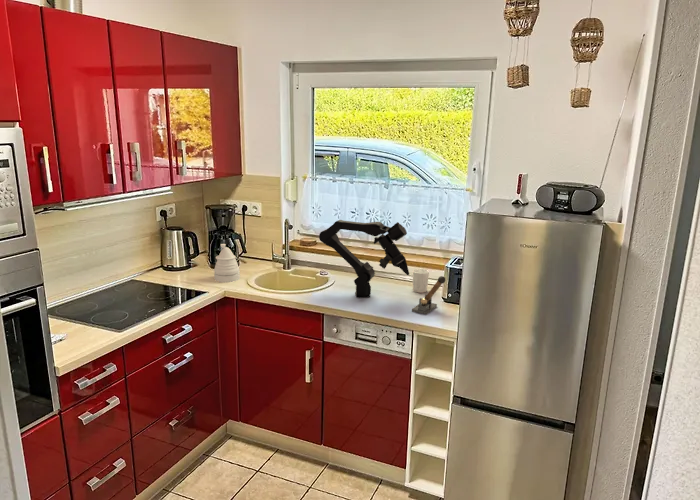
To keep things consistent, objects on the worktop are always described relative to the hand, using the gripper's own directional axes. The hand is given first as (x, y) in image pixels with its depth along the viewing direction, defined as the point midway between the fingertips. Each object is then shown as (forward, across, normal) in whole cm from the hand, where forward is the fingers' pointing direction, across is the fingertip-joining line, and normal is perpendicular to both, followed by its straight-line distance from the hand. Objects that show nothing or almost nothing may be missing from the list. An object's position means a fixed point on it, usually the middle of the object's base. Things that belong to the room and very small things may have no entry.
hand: (408, 274), depth 238 cm
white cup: (+11, -20, 0) cm, 23 cm away
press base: (+16, +6, -3) cm, 17 cm away
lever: (+14, +5, 0) cm, 14 cm away
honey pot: (-49, -26, -79) cm, 96 cm away
